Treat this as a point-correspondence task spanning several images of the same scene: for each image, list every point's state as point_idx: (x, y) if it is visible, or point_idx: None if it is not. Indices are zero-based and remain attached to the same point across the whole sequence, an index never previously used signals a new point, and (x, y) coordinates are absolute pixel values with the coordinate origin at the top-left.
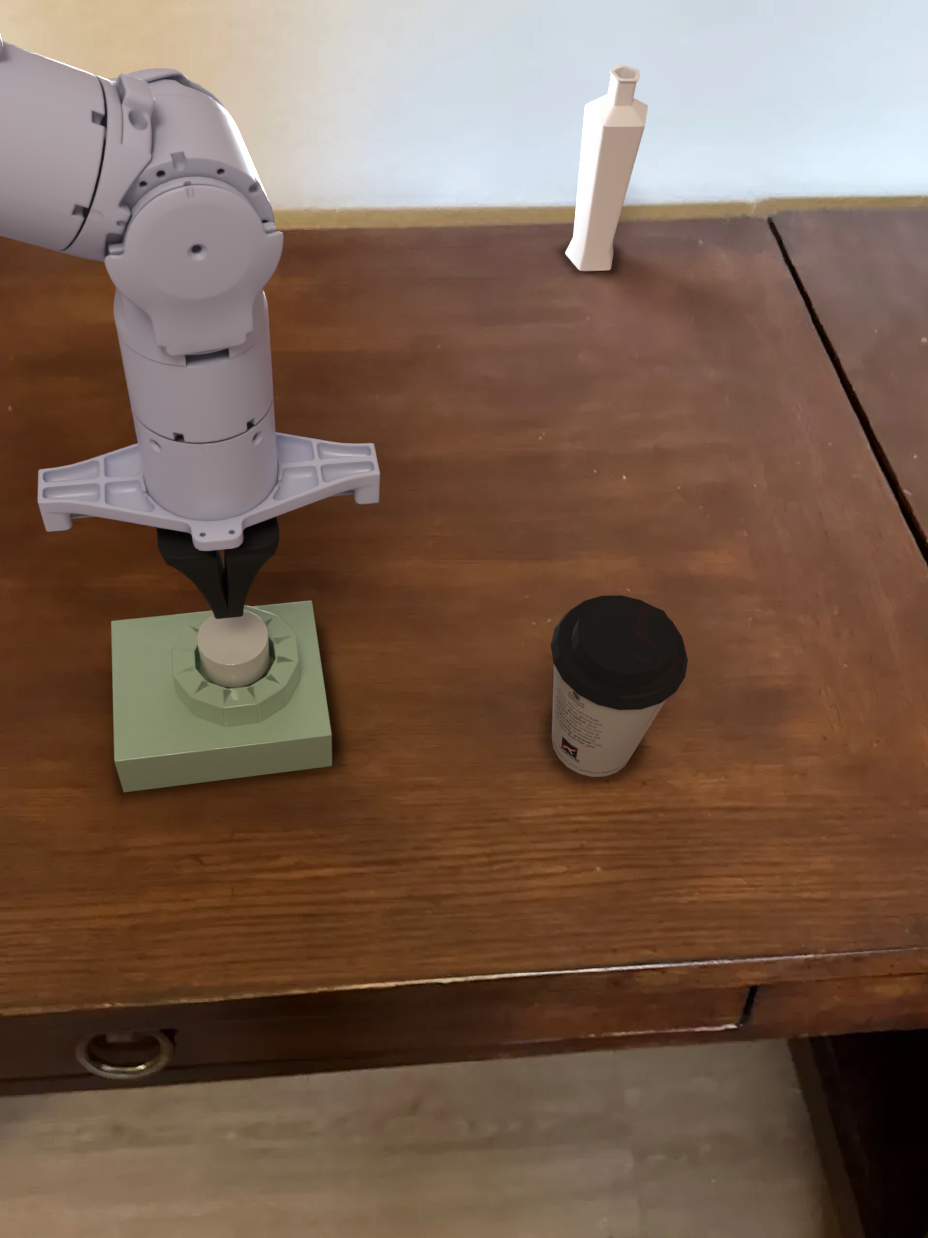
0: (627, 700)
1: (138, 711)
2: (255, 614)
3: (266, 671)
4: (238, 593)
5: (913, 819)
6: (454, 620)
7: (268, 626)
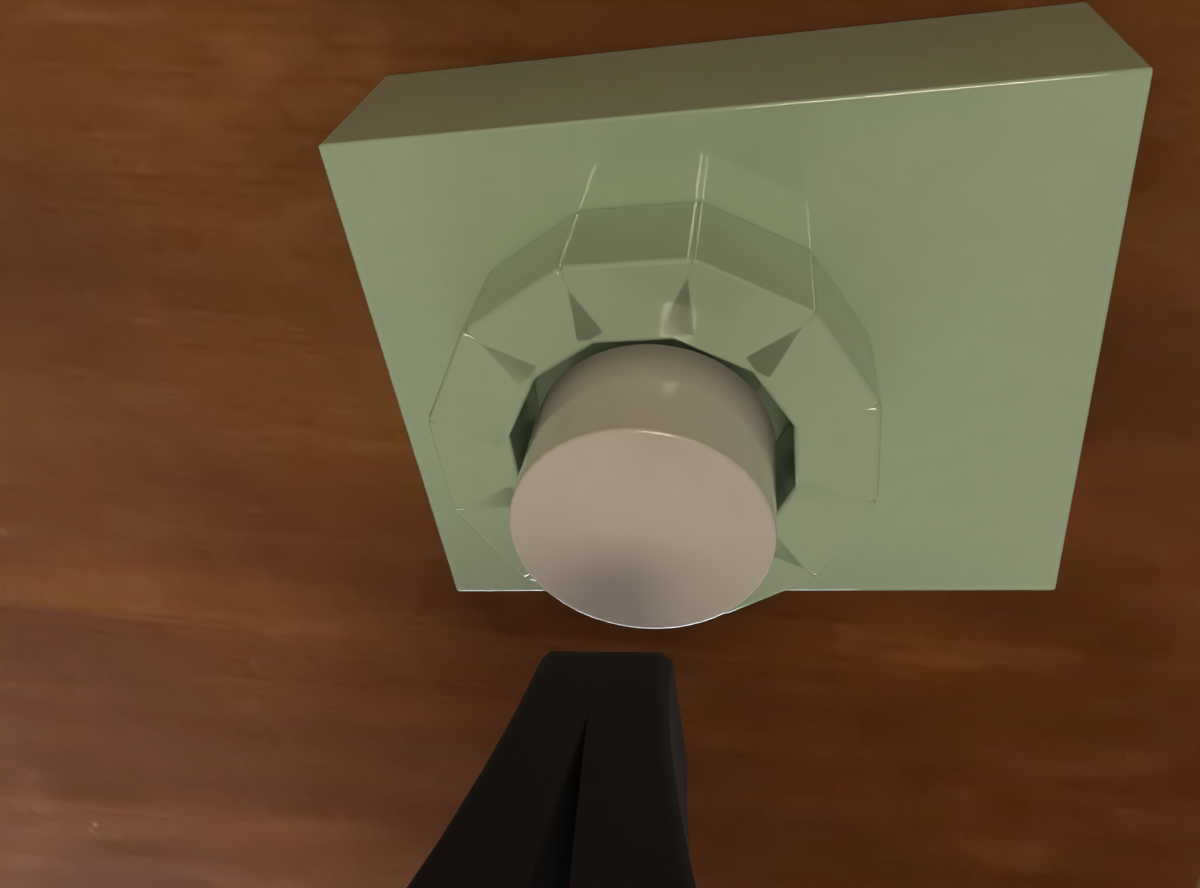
0: None
1: (1016, 282)
2: None
3: None
4: (493, 834)
5: None
6: (151, 491)
7: None
